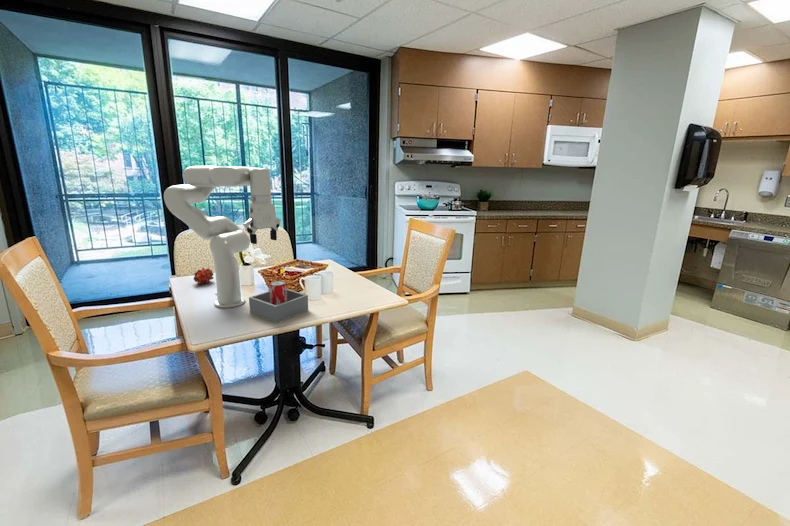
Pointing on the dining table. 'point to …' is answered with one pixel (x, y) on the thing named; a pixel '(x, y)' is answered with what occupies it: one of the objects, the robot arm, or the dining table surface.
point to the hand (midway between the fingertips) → (263, 241)
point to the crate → (278, 306)
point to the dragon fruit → (203, 276)
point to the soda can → (278, 292)
